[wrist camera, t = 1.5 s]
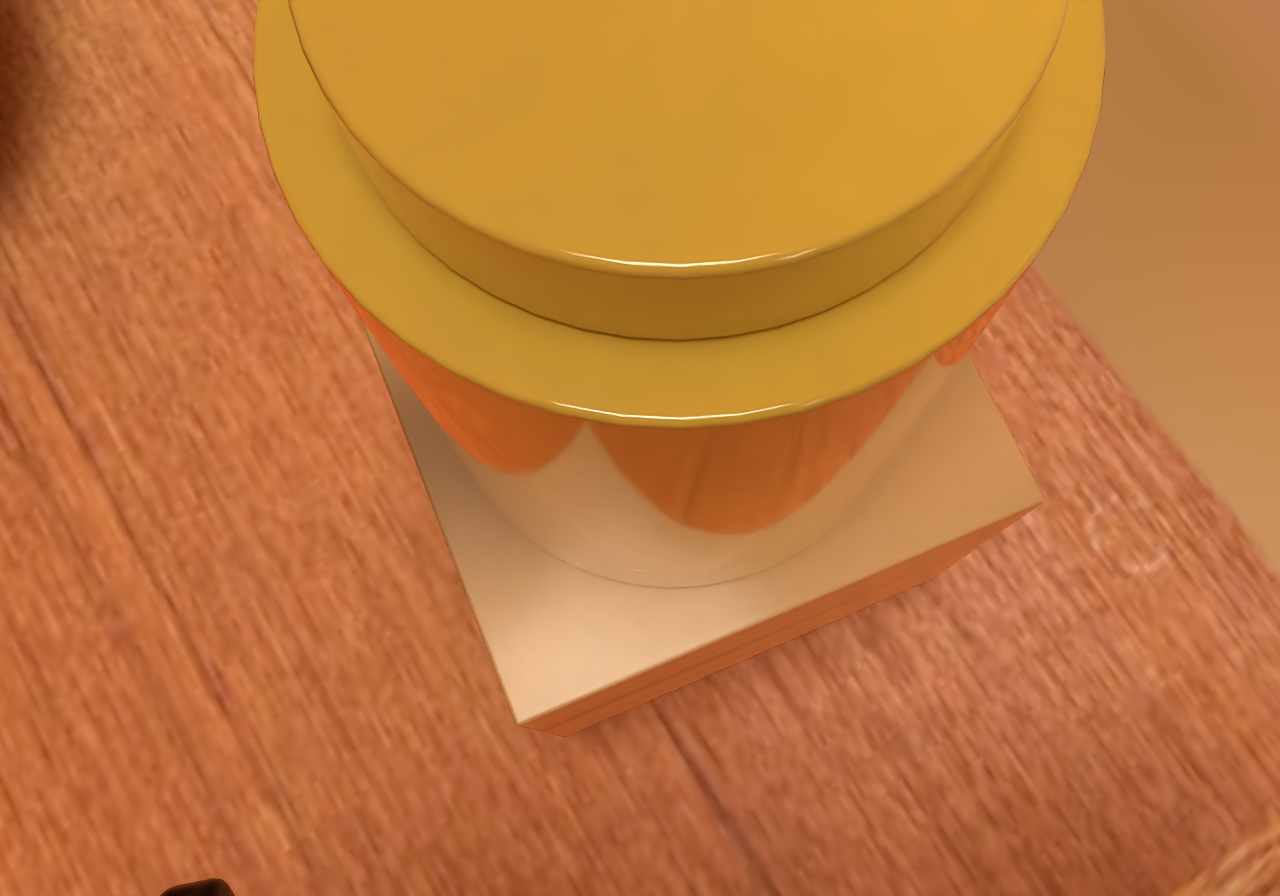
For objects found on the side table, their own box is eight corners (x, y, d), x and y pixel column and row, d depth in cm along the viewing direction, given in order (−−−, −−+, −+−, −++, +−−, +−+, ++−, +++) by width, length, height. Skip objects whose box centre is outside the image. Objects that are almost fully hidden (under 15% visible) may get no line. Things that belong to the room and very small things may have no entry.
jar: (986, 476, 16) (1371, 132, 7) (542, 665, 15) (379, 540, 7) (787, 86, 17) (904, -586, 9) (378, 246, 17) (71, -297, 8)
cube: (934, 578, 23) (1048, 499, 16) (563, 738, 22) (515, 727, 15) (768, 239, 24) (807, 39, 18) (422, 378, 24) (325, 225, 17)
